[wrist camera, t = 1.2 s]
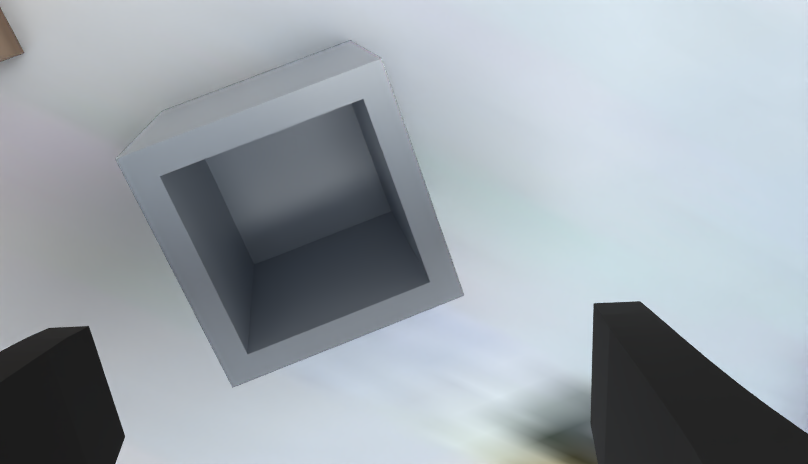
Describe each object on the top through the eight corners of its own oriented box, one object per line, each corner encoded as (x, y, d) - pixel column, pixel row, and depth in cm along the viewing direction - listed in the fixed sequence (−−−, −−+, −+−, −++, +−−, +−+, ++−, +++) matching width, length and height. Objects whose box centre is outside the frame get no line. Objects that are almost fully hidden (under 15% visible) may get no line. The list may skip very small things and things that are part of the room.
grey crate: (243, 282, 21) (232, 387, 15) (161, 110, 19) (115, 158, 13) (413, 215, 21) (464, 295, 16) (349, 39, 19) (381, 58, 14)
